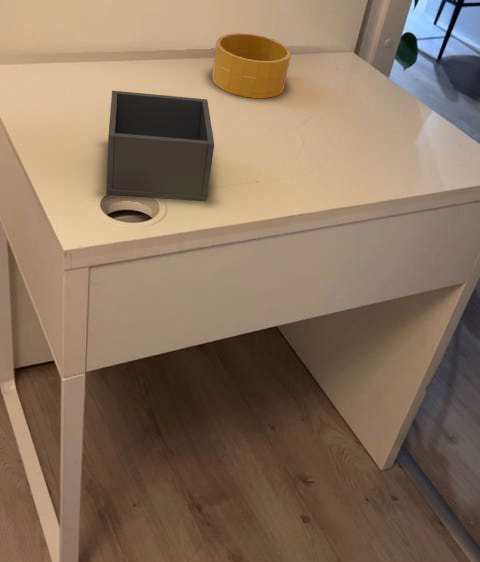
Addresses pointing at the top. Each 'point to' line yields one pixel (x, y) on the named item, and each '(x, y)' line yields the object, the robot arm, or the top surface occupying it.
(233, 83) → the bowl
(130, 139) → the bin
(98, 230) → the top surface
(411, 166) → the top surface
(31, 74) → the top surface
